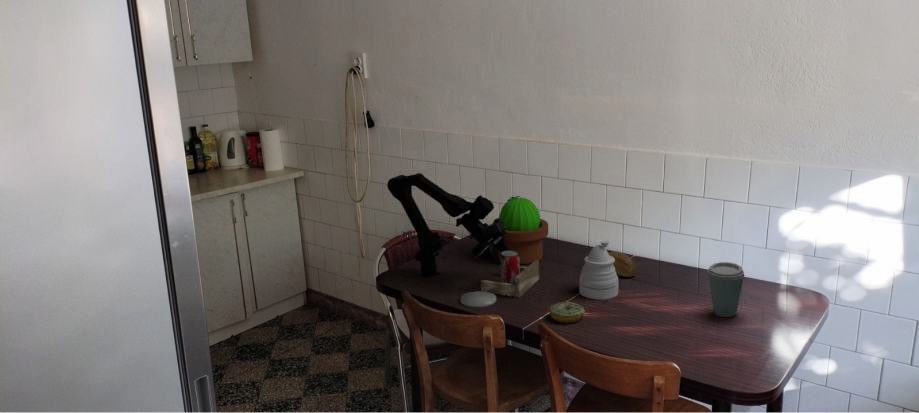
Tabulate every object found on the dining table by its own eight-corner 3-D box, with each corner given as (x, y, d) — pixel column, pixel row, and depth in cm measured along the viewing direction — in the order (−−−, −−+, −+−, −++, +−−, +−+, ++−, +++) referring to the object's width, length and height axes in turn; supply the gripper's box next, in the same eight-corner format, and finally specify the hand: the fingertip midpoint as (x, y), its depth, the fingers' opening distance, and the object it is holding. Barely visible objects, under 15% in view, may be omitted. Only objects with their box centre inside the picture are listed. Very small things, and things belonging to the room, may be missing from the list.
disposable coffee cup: (738, 322, 206) (741, 275, 202) (701, 316, 212) (703, 270, 208) (745, 309, 215) (748, 264, 211) (709, 303, 220) (711, 259, 216)
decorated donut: (590, 316, 216) (590, 304, 215) (571, 327, 209) (571, 316, 208) (562, 307, 223) (562, 297, 222) (543, 319, 216) (543, 307, 215)
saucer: (453, 299, 234) (453, 297, 234) (482, 290, 240) (482, 288, 240) (474, 310, 224) (474, 308, 224) (503, 300, 231) (503, 298, 230)
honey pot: (621, 287, 237) (622, 237, 233) (613, 301, 226) (613, 249, 221) (584, 283, 243) (584, 234, 238) (574, 296, 231) (574, 245, 227)
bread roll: (628, 282, 242) (629, 260, 240) (591, 274, 251) (591, 253, 249) (641, 274, 248) (642, 253, 246) (604, 266, 258) (604, 246, 256)
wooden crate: (481, 291, 239) (480, 272, 237) (502, 274, 255) (502, 256, 253) (519, 297, 233) (518, 277, 231) (539, 279, 248) (538, 260, 247)
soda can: (519, 289, 240) (518, 256, 237) (499, 288, 241) (497, 256, 238) (521, 282, 246) (520, 250, 243) (501, 281, 248) (500, 249, 245)
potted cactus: (551, 265, 261) (550, 201, 255) (493, 268, 262) (491, 204, 255) (545, 247, 282) (544, 187, 276) (491, 249, 283) (489, 190, 276)
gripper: (477, 220, 233) (509, 254, 230) (500, 206, 248) (530, 238, 246) (458, 240, 238) (488, 274, 236) (481, 225, 254) (510, 257, 252)
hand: (505, 260), depth 242 cm, fingers open, 9 cm apart
